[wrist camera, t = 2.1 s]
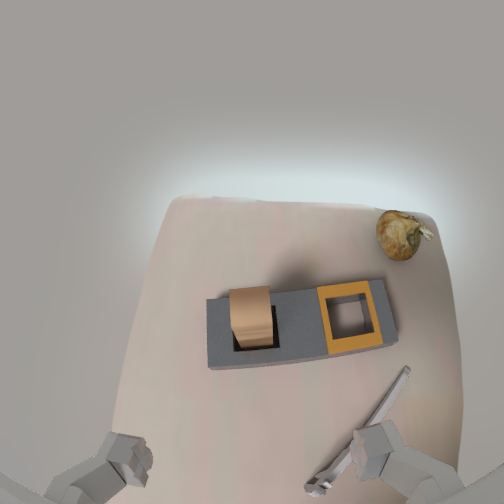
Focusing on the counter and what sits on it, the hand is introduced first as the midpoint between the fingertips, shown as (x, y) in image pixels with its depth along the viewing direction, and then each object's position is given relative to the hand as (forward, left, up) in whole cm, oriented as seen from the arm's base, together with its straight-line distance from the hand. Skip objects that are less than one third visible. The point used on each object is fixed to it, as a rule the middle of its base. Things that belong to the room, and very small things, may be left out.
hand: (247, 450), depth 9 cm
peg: (+12, 0, -25) cm, 28 cm away
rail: (+12, -6, -25) cm, 28 cm away
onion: (+23, -23, -25) cm, 41 cm away
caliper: (-3, -12, -25) cm, 28 cm away
